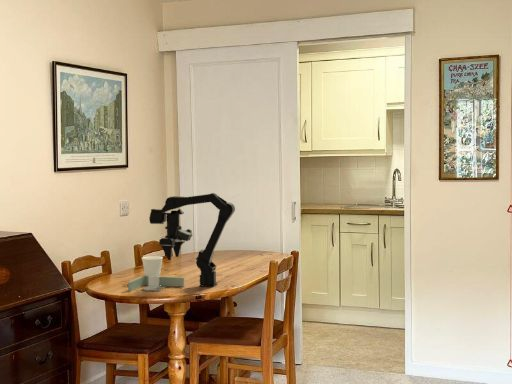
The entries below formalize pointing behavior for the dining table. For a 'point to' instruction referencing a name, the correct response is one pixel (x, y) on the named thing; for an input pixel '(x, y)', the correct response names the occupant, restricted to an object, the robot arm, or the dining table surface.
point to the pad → (155, 290)
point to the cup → (152, 265)
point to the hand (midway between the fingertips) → (173, 258)
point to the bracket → (153, 283)
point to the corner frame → (163, 282)
